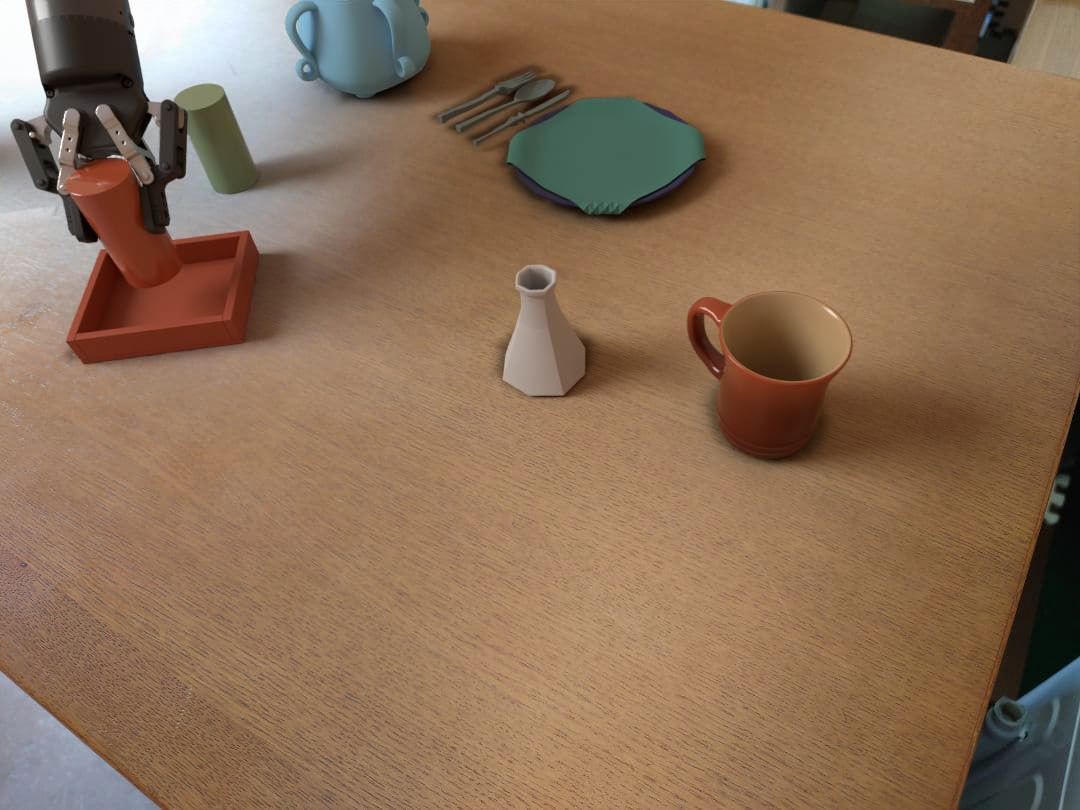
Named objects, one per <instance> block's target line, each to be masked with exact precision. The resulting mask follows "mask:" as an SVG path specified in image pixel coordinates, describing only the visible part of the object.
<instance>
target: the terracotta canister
mask: <svg viewBox="0 0 1080 810" xmlns="http://www.w3.org/2000/svg"><path fill="white" fill-rule="evenodd" d="M65 186H66V190H67V191H68V193H69V194H70V196H71V197H72V199H73V200H74V202H75V203H76V205H77V207H78V208H79V210H80V211H81V213H82V214H83V216H84V217H85V219H86V220H87V222H88V223H89V225H90V226H91V228H92V229H93V231H94V232H95V234H96V235H97V237H98V241H99V242H100V243H101V245H102V246H103V249H106V251H107V252H108V254H109V255H110V257H111V258H112V260H113V261H114V263H115V264H116V266H117V267H118V269H119V270H120V272H121V273H122V275H123V276H124V278H125V279H126V281H127V282H128V283H129V284H130V285H131V286H133V287H136V288H152V287H156V286H159V285H162V284H164V283H166V282H168V281H170V280H171V279H173V278H174V277H175V276H176V275H177V274H178V273H179V272H180V270H181V269H182V267H183V257H182V256H181V254H180V252H179V250H178V249H177V247H176V245H175V243H174V241H173V240H174V239H173V238H172V236H171V234H170V233H169V231H168V229H167V226H165V228H166V232H165V234H158V235H155V234H151V233H148V231H147V230H146V227H145V222H144V216H143V211H142V205H141V200H140V195H139V188H138V187H142V182H141V181H140V180H139V178H138V177H137V175H136V173H135V172H134V170H133V168H132V167H131V165H130V163H129V162H128V161H127V160H126V159H125V158H120V157H107V158H103V159H98V160H95V161H92V162H89V163H87V164H85V165H83V166H81V167H79V168H78V169H76V170H75V171H74V172H73V173H72V174H71V175H70V176H69V177H68V178H67V180H66V184H65Z"/></svg>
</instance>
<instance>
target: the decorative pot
mask: <svg viewBox="0 0 1080 810" xmlns="http://www.w3.org/2000/svg"><path fill="white" fill-rule="evenodd" d="M429 22H430V16H429V13H428V11H427V10H426V9H425V8H424V7H422V6H420V0H299V1H297V2H296V3H294V4H293V5H292V6H291V7H290V8H289V9H288V11H287V13H286V15H285V18H284V27H285V31H286V33H287V36H288V38H289V40H290V42H291V43H292V44H293V46H294V47H295V49H296V50H297V51H298V52H299V54H300V55H301V56H302V58H300V59H298V60H297V62H296V63H295V64H296V65H295V73H296V75H297V77H298V78H299V79H300V80H301V81H303V82H314V81H316V80H318V78H319V80H321V81H322V82H323V83H324V84H326V85H327V86H329V87H331V88H333V89H335V90H338V91H340V92H344V93H346V94H347V93H348V94H351V95H352V94H353V95H355V96H356V97H357V98H360V99H367V98H371V97H373V96H375V95H376V93H379V92H382V91H385V90H388V89H390V88H393V87H395V86H397V85H398V84H399V85H400V84H402V83H404V82H406V81H408V80H409V79H411V78H412V77H414V76H416V75H417V74H419V73H420V72H421V71H422V70H424V69H423V68H424V67H425V65H426V63H427V61H428V58H429V56H430V53H431V48H432V45H431V44H432V43H431V38H430V34H429V31H428V28H427V27H428V25H429ZM305 66H307V67H308V70H307V71H304V67H305Z"/></svg>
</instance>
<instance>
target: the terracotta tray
mask: <svg viewBox="0 0 1080 810" xmlns="http://www.w3.org/2000/svg"><path fill="white" fill-rule="evenodd" d="M172 240H173V241H174V243H175V245H176V247H177V249H178V250H179V252H180V254H181V256H182V257H183V267H182V269H181V270H180V272H179V273H178V274H177V275H176V276H175V277H174V278H173V279H171V280H170V281H168V282H166V283H164V284H162V285H159V286H156V287H152V288H136V287H133V286H131V285H130V284H129V283H128V282H127V281H126V279H125V278H124V276H123V275H122V273H121V272H120V270H119V269H118V267H117V266H116V264H115V263H114V261H113V260H112V258H111V257H110V255H109V254H108V252H107V251H106V249H105V248H101V249H99V251H98V255H97V258H96V260H95V263H94V265H93V268H92V271H91V273H90V276H89V279H88V281H87V284H86V286H85V289H84V290H83V291H84V292H83V294H82V297H81V300H80V301H79V304H78V307H77V310H76V312H75V315H74V318H73V320H72V324H71V325H70V328H69V331H68V333H67V336H66V338H65V343H66V345H68V347H69V348H70V349H71V350H72V351H73V353H74V354H75V355H76V357H77V358H78V359H79V360H80V362H81V363H82V365H84V364H93V363H100V362H107V361H113V360H124V359H130V358H136V357H137V358H138V357H145V356H153V355H154V356H155V355H160V354H167V353H176V352H183V351H192V350H197V349H205V348H213V347H221V346H228V345H237V344H244V343H245V336H246V330H247V325H248V319H249V314H250V310H251V309H250V308H251V303H252V298H253V297H252V296H253V292H254V287H255V280H256V276H257V270H258V265H259V257H260V252H259V250H258V247H257V245H256V243H255V241H254V238H253V236H252V234H251V232H250V230H249V229H246V230H237V231H230V232H223V233H215V234H208V235H199V236H192V237H185V238H177V239H172Z"/></svg>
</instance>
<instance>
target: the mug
mask: <svg viewBox="0 0 1080 810" xmlns="http://www.w3.org/2000/svg"><path fill="white" fill-rule="evenodd" d="M705 316H708V317H709V318H710V319H711V320H712V321H713V322H714V323H715V325H716V326H717V328H718V339H719V344H720V347H721V350H722V352H720V351H719V350H718V349H717V348H716V347H715V346H714V345H713V344H712V342H711V341H710V338H709V336H708V334H707V331H706V324H705V323H706V322H705ZM686 331H687V335H688V340H689V343H690V345H691V347H692V349H693V351H694V352H695V354H696V356H697V357H698V358H699V359H700V361H701V362H702V363H703V364H704V366H705V367H706V368H707V370H708V372H710V374H711V375H712V376H713V377H714V378H715V379H717V380H718V382H719V386H718V392H717V396H716V403H715V405H716V417H717V422H718V428H719V430H720V432H721V435H722V436H723V438H724V439H725V440H726V441H727V443H729V445H731V446H732V447H733V448H734V449H736V450H738V451H739V452H741V453H743V454H745V455H747V456H751V457H754V458H757V459H758V458H759V459H766V460H770V459H771V460H772V459H773V460H774V459H779V458H784V457H787V456H790V455H792V454H794V453H796V452H798V451H799V450H800V449H801V448H802V447H804V445H805V444H806V442H807V441H808V440H809V439H810V438H811V436H812V434H813V433H814V431H815V429H816V428H817V426H818V423H819V418H820V415H821V412H822V409H823V405H824V402H825V398H826V393H827V391H828V387H829V384H830V383H831V381H833V380H834V378H835V377H836V376H837V375H838V374H839V373H840V372H841V371H842V370H843V369H844V368H845V367H846V365H847V364H848V362H849V360H850V358H851V356H852V352H853V348H854V347H853V346H854V341H853V336H852V335H853V334H852V332H851V329H850V327H849V325H848V324H847V322H846V321H845V319H844V318H843V317H842V316H841V315H840V314H839V313H838V312H837V311H836V310H835V309H834V308H832V306H830V305H828V304H827V303H824V302H823V301H821V300H820V299H817V298H814V297H812V296H810V295H807V294H802V293H799V292H793V291H786V290H785V291H784V290H772V291H763V292H757V293H752V294H749V295H747V296H745V297H743V298H741V299H739V300H737V301H736V302H734V303H733V304H732V303H729V302H726V301H723V300H720V299H719V298H716V297H713V296H703V297H701V298H699V299H698V300H697V301H695V302H694V303H693V304H692V305H691V306H690V307H689V310H688V312H687V317H686Z"/></svg>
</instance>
